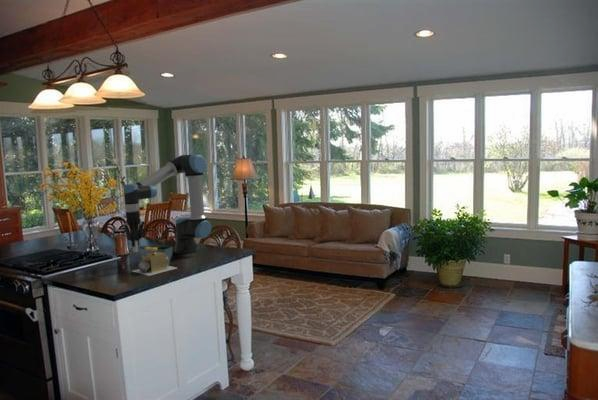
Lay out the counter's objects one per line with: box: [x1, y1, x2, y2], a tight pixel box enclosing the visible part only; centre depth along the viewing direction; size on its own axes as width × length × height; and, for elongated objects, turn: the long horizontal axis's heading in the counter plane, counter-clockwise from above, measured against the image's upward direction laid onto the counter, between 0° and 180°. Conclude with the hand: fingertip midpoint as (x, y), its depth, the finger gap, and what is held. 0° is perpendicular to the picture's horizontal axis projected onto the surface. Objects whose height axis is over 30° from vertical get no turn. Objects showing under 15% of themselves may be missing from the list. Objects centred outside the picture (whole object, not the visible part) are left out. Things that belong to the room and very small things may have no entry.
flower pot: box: [156, 245, 174, 260], centre depth 292 cm, size 9×9×9 cm
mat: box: [131, 265, 178, 277], centre depth 273 cm, size 18×19×1 cm
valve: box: [137, 251, 171, 273], centre depth 272 cm, size 9×18×11 cm, turn 140°
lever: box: [138, 245, 158, 253], centre depth 275 cm, size 14×4×1 cm, turn 50°
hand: (135, 251), depth 274 cm, fingers closed
